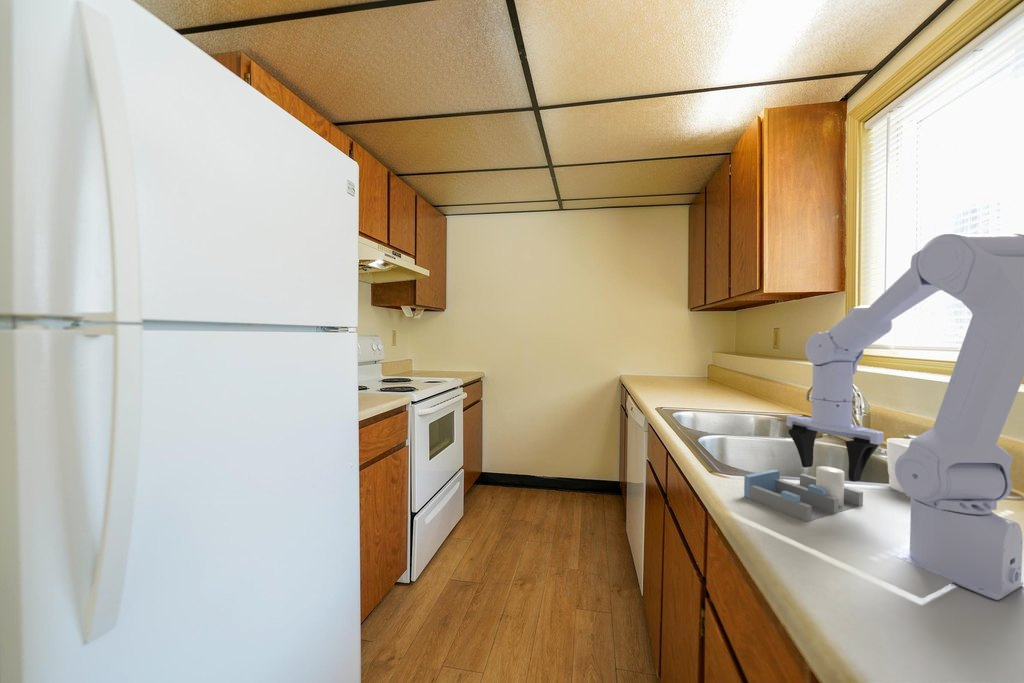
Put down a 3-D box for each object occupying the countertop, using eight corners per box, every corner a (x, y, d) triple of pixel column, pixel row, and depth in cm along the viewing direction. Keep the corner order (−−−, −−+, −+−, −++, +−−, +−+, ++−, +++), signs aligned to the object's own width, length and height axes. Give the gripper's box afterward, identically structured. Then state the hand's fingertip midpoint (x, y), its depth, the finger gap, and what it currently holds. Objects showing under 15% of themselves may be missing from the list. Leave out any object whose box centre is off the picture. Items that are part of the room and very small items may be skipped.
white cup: (954, 501, 75) (956, 449, 75) (912, 501, 75) (913, 448, 75) (913, 485, 83) (914, 438, 82) (874, 485, 83) (875, 437, 83)
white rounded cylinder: (848, 504, 72) (849, 472, 71) (835, 508, 70) (836, 475, 70) (823, 496, 75) (824, 465, 75) (810, 500, 74) (811, 468, 74)
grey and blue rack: (862, 508, 72) (863, 482, 72) (806, 525, 65) (807, 497, 65) (798, 486, 82) (798, 464, 82) (744, 499, 75) (744, 475, 75)
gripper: (894, 404, 67) (891, 483, 68) (802, 392, 80) (801, 458, 81) (871, 407, 64) (869, 490, 65) (780, 394, 78) (778, 463, 78)
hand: (829, 473), depth 73 cm, fingers open, 7 cm apart
